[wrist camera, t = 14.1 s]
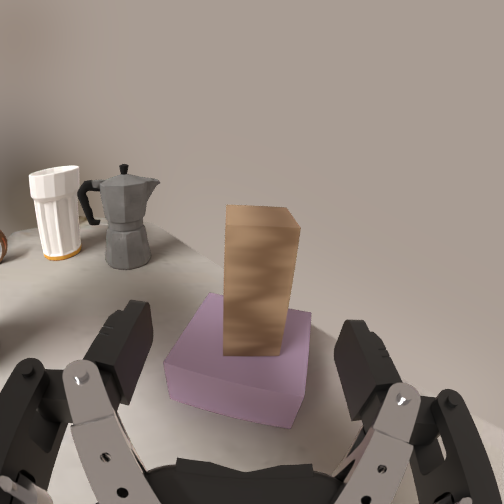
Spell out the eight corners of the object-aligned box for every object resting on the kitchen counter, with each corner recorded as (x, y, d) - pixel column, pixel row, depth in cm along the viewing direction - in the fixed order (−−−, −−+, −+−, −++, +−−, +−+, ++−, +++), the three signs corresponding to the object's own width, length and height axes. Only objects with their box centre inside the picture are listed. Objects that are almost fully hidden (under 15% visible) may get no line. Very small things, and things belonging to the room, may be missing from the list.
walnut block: (222, 356, 23) (225, 224, 18) (223, 321, 27) (226, 204, 22) (279, 355, 23) (300, 228, 18) (271, 321, 28) (286, 207, 23)
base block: (170, 400, 24) (163, 361, 21) (208, 330, 34) (209, 292, 32) (289, 430, 22) (304, 396, 19) (300, 350, 33) (311, 312, 30)
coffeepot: (158, 246, 56) (157, 159, 48) (164, 266, 48) (164, 165, 41) (87, 253, 49) (80, 165, 42) (83, 275, 42) (71, 172, 34)
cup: (49, 242, 51) (41, 168, 44) (90, 239, 55) (85, 163, 48) (32, 264, 42) (19, 178, 35) (79, 262, 45) (69, 172, 38)
